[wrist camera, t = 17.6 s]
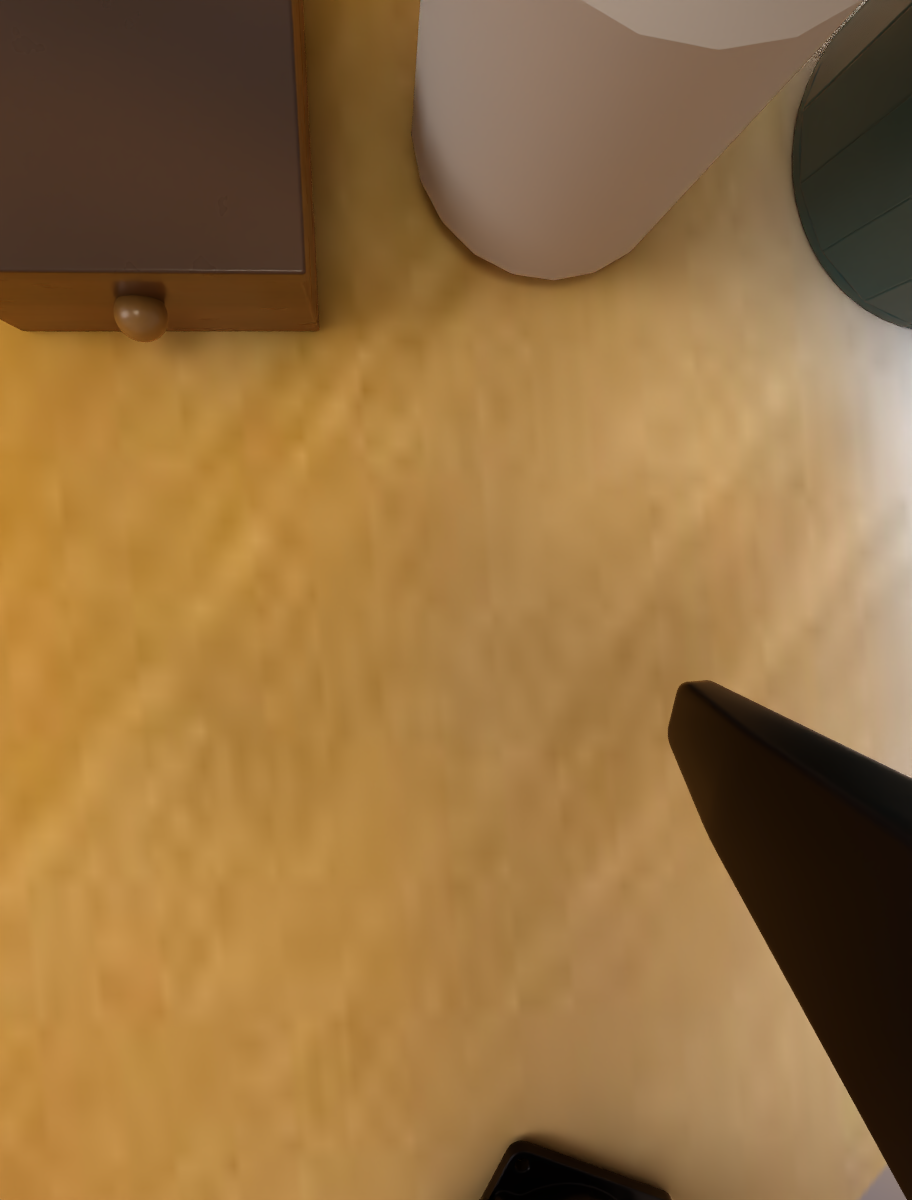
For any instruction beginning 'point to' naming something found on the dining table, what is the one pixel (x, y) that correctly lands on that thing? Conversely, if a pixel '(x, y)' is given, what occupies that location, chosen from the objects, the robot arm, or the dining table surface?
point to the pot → (861, 159)
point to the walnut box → (155, 167)
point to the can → (590, 113)
